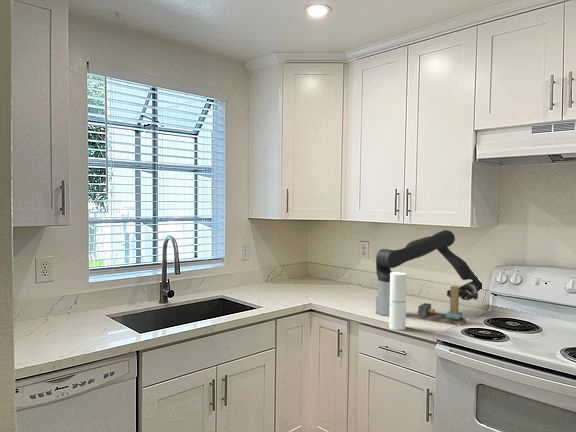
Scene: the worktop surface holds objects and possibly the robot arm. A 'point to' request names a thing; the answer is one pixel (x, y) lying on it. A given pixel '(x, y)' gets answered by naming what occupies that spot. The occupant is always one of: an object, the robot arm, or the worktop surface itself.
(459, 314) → the post
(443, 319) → the rail bed
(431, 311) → the button
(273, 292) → the worktop surface
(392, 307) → the cylindrical container
